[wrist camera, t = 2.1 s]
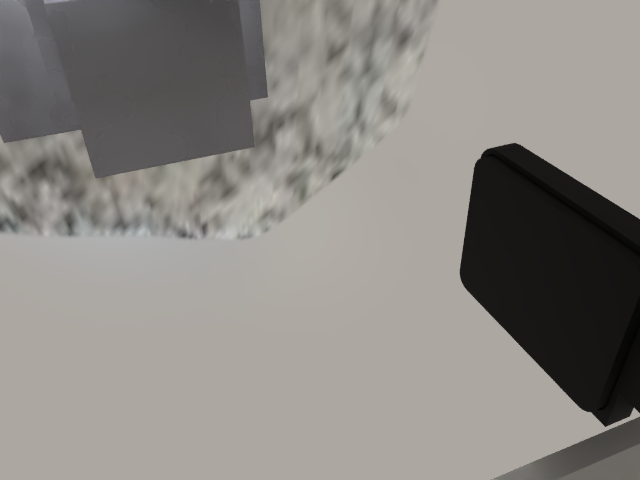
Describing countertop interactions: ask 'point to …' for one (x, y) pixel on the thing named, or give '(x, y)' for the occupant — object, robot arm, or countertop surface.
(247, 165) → the countertop surface
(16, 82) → the stand
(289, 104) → the countertop surface
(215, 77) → the post
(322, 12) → the countertop surface
